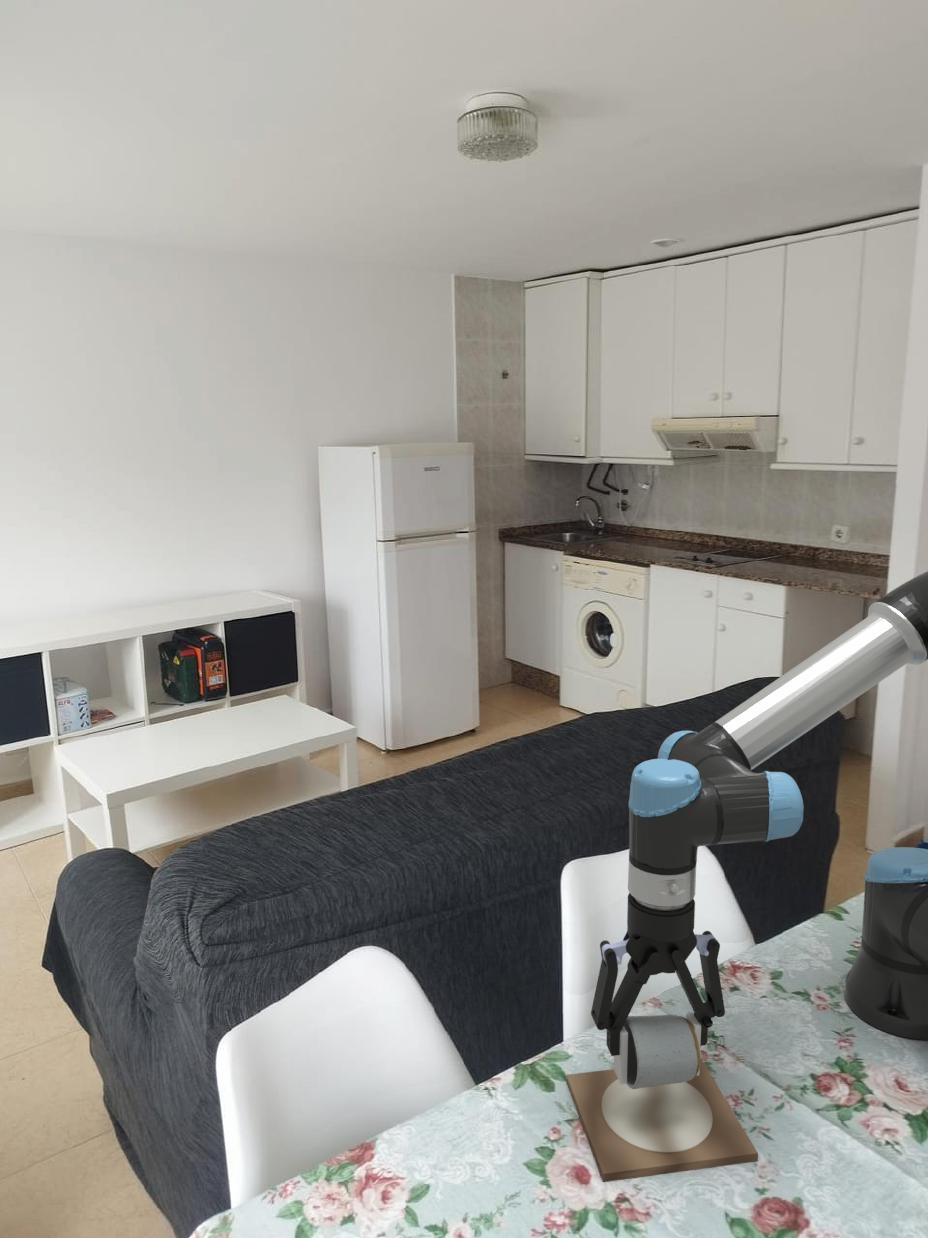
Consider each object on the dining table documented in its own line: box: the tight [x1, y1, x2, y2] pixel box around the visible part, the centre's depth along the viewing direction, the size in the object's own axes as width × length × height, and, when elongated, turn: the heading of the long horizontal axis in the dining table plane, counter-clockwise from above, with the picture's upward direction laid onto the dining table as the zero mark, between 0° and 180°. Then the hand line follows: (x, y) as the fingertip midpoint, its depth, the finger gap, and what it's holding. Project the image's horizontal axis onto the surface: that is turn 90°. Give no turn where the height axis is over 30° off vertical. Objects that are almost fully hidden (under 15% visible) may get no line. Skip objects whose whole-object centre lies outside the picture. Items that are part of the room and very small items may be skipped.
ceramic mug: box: [624, 1014, 701, 1089], centre depth 106 cm, size 11×8×8 cm
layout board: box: [565, 1058, 759, 1182], centre depth 107 cm, size 18×16×1 cm
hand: (656, 1072), depth 106 cm, fingers closed on ceramic mug, 8 cm apart
